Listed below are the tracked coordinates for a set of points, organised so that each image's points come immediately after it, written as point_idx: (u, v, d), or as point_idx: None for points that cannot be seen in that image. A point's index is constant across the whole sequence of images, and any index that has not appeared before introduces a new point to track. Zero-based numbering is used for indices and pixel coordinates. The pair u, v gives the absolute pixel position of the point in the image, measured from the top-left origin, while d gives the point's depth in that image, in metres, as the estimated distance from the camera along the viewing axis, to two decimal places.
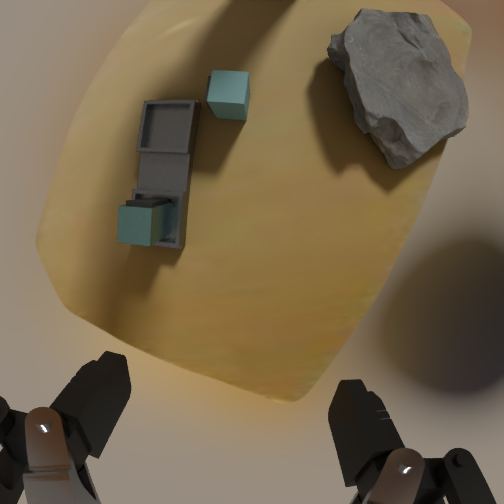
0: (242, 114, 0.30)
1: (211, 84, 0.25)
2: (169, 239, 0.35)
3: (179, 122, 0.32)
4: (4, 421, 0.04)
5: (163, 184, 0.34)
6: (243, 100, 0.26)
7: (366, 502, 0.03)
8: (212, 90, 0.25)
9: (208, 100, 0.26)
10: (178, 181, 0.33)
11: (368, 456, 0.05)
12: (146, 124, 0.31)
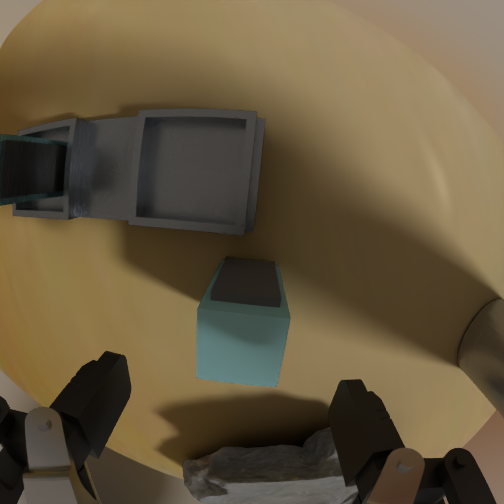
0: None
1: (245, 318, 0.11)
2: None
3: (202, 193, 0.16)
4: (4, 421, 0.04)
5: (90, 172, 0.16)
6: (204, 377, 0.12)
7: (366, 502, 0.03)
8: (228, 320, 0.12)
9: (200, 311, 0.11)
10: (94, 201, 0.16)
11: (368, 456, 0.05)
12: (201, 120, 0.15)
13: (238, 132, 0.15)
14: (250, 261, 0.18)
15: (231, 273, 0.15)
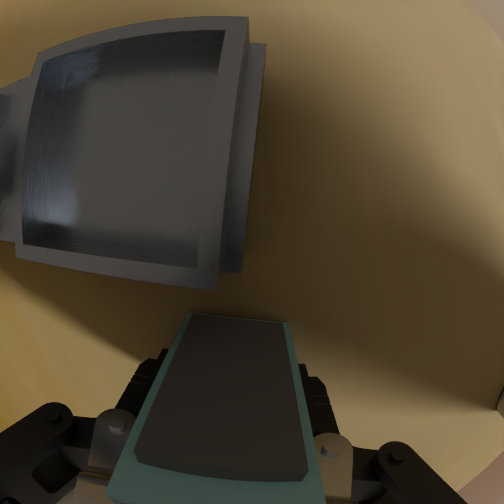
0: None
1: None
2: None
3: (136, 193, 0.07)
4: (69, 429, 0.04)
5: None
6: None
7: None
8: None
9: (112, 497, 0.03)
10: None
11: None
12: (138, 51, 0.06)
13: (210, 68, 0.06)
14: (237, 325, 0.09)
15: (193, 373, 0.06)
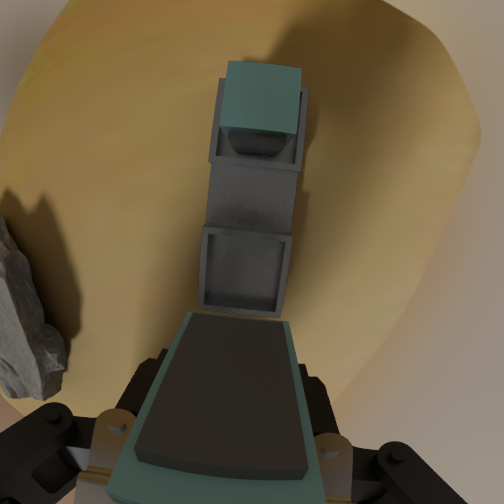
0: None
1: None
2: None
3: (226, 275, 0.23)
4: (69, 429, 0.05)
5: (249, 176, 0.21)
6: None
7: None
8: None
9: (112, 495, 0.03)
10: (223, 180, 0.21)
11: None
12: (278, 278, 0.23)
13: (269, 298, 0.24)
14: (237, 324, 0.09)
15: (193, 372, 0.06)
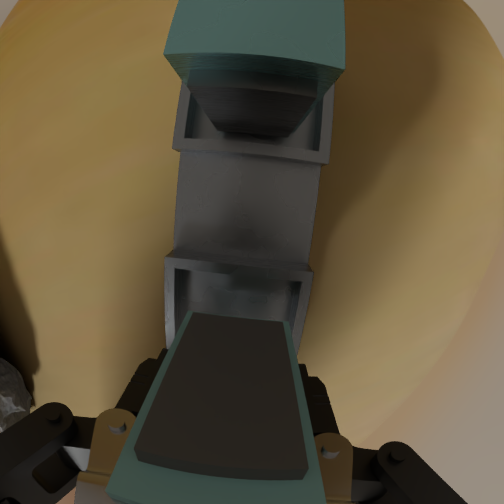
0: None
1: None
2: None
3: None
4: (69, 429, 0.05)
5: (242, 172, 0.13)
6: None
7: None
8: None
9: (112, 495, 0.03)
10: (199, 179, 0.13)
11: None
12: None
13: None
14: (237, 324, 0.09)
15: (193, 372, 0.06)
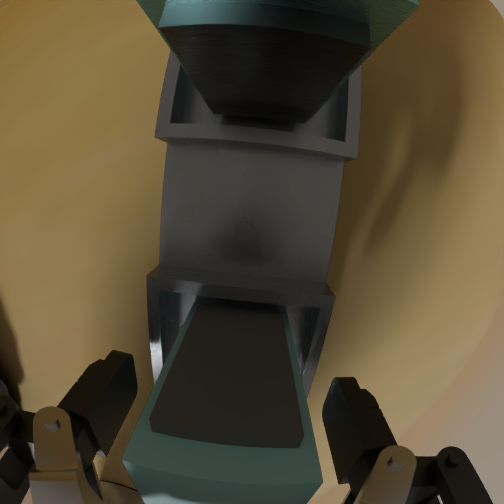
0: None
1: (225, 485, 0.04)
2: None
3: None
4: (11, 421, 0.04)
5: (244, 168, 0.10)
6: None
7: (358, 501, 0.04)
8: (188, 483, 0.04)
9: (128, 464, 0.04)
10: (191, 177, 0.10)
11: (360, 453, 0.05)
12: (299, 363, 0.11)
13: None
14: (239, 313, 0.10)
15: (201, 354, 0.07)
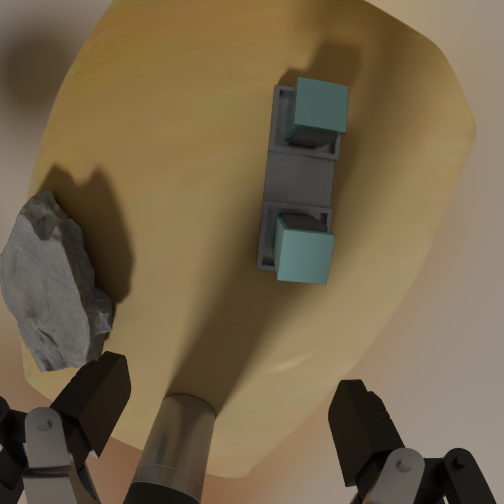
0: (274, 258, 0.26)
1: (310, 235, 0.20)
2: (290, 96, 0.25)
3: None
4: (4, 421, 0.04)
5: (298, 163, 0.27)
6: (282, 279, 0.21)
7: (366, 502, 0.03)
8: (301, 237, 0.20)
9: (285, 232, 0.20)
10: (278, 165, 0.27)
11: (368, 456, 0.05)
12: None
13: None
14: (298, 215, 0.26)
15: (292, 218, 0.24)
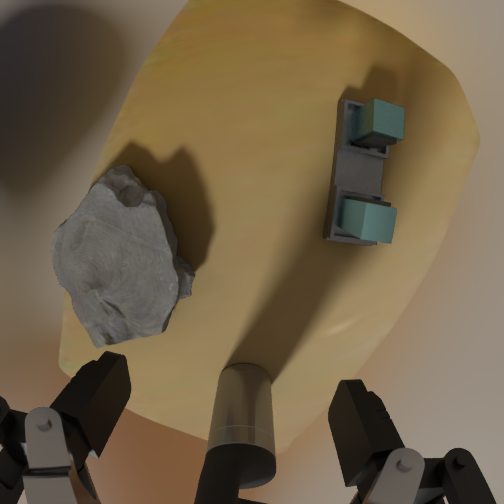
0: (347, 228, 0.32)
1: (382, 207, 0.27)
2: (353, 108, 0.32)
3: None
4: (4, 421, 0.04)
5: (359, 159, 0.33)
6: (364, 238, 0.28)
7: (366, 502, 0.03)
8: (376, 208, 0.27)
9: (367, 204, 0.27)
10: (345, 160, 0.33)
11: (368, 456, 0.05)
12: None
13: None
14: None
15: None
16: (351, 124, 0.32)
